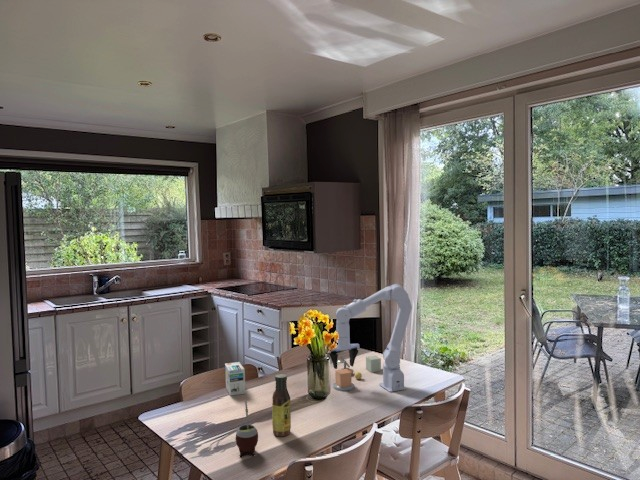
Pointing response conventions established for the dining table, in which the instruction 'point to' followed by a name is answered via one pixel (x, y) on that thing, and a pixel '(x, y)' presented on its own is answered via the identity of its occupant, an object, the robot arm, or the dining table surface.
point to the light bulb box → (235, 378)
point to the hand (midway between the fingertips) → (343, 367)
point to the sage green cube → (373, 363)
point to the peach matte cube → (343, 378)
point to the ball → (358, 375)
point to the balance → (344, 364)
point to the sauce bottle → (281, 407)
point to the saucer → (343, 387)
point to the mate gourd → (246, 437)
